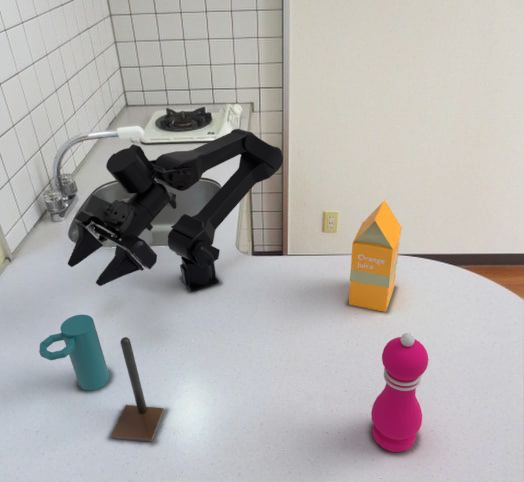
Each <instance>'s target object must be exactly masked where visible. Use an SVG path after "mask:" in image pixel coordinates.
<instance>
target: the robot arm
mask: <svg viewBox="0 0 524 482" xmlns="http://www.w3.org/2000/svg"><path fill="white" fill-rule="evenodd" d="M237 156H240V157H239V162H238V163H239V164H238V167H237V169H236V170H235V171H234V173H233V174H232V175H231V176H230V177H229V178H228V179H227V181H226V182H224V184H223V185H222V186H221V187H220V189H218V191H216V193H215V194H214V195H213V196H212V197H211V199H210V200H209V201H208V202H207V203H206V204H205V205H204V206H203V207H202V209H200V210H199V212H198V213H196V214H195V215H192V216H191V215H189V214H187V213H184V214H182V215H181V216H180V218H179V219H178V220H177V221H176V222H175V223H174V224H172V225H171V226H170V228H171V229H170V231H169V232H168V234H167V246H168V249H169V250H170V251H171V252H173V253H175V255H177V256H180V259H181V264H179V268H180V275H181V280H182V282H183V284H184V285H185V286H186V287H188V289H189V290H190V292H197V291H200V290H202V289H205V288H209V287H213V286H216V285H218V284H219V283H220V280H219V279H218V278H217V276H216V267H215V266H216V265H215V262H216V261H218V260H219V256H220V251H221V250H220V249H219V248H218V247H216V246H213V244H214V242H215V241H214V240H215V234H216V230H217V229H218V228H219V226H220V225H221V224H222V223H223V222H224V221H225V219H227V217H228V216H229V215H230V214H231V213H232V211H233V210H234V209H235V208H236V207H237V206H238V204H240V202H242V200H243V199H244V198H245V197H246V195H247V194H248V193H249V192H250V191H251V190H252V188H253V187H254V186H255V185H256V184H258V183H260V182H263V181H266V180H268V179H270V178H271V177H272V176H274V175H275V174H277V172H278V171H279V170H280V169H281V167H282V166H283V162H284V155H283V152H282V149H281V148H279V147H278V146H275V145H272V144H269V143H268V142H266V141H264V140H262V139H261V138H260V137H258V136H257V135H256V134H254V133H253V132H252V131H248V130H244V129H241V128H235V129H232V130H231V131H230V132H229V133H226V134H224V135H222V136H220V137H218V138H215V139H213V140H211V141H208V142H206V143H204V144H202V145H200V146H198V147H195V148H193V149H189V150H181V151H180V150H176V151H171V152H166V153H162V154H161V155H159V156H157V158H156V159H150V160H149V158H148V157H147V156H146V153H145V151H144V149H143V148H142V147H141V145H137V144H133V143H132V144H131V145H130V146H129V147H127V148H123V149H120V150H119V151H117V152H114V153H112V154H111V156H110V157H109V158H108V160H107V161H106V165H105V167H106V170H107V171H108V173H110V175H111V176H112V177H113V179H114V180H115V181H116V182H117V183H118V184H119V186H120V187H121V189H123V190H124V192H125V193H126V194H130V195H131V196H130V197H128V198H129V199H128V201H127V202H124V201H122V200H123V199H120V200H121V201H120V200H118V199H115V200H114V201H112V202H110V201H108V200H106V199H104V198H101V197H99V196H97V195H95V194H91V195H90V197H89V199H88V201H87V204H86V206H85V207H84V210H81V211H79V212H78V214H77V215H76V216H75V217H74V220H75V221H76V223H75V227H77V231H78V236H77V238H76V243H75V245H74V248H73V249H72V252H71V254H70V256H69V258H68V261H67V265H68V266H69V267H70V268H74V267H75V266H76V265H78V264H80V263H81V262H83V261H84V260H85V259H87V258H88V257H89V256H91V255H92V254H93V253H95V252H96V251H98V250H99V249H100V248H102V247H103V244H102V243H103V242H107V241H110V242H112V243H113V244H114V245H115V252H114V256H113V258H112V259H111V260H110V262H109V263H108V264H107V266H106V267H105V268H104V270H103V271H102V272H101V273H100V274H99V276H98V278H97V279H96V280H95V284H96V285H97V286H99V287H102V286H104V285H106V284H108V283H111V282H113V281H115V280H117V279H119V278H122V277H125V276H127V275H130V274H132V273H135V272H138V271H141V272H142V271H144V270H145V269H147V270H149V271H150V270H151V269H152V268H153V267H154V266H155V264H156V263H157V260H158V254H157V253H156V252H155V251H154V249H152V248H151V245H148V244H147V243H146V242H145V241H144V240H142V239H140V238H139V236H140V234H141V233H142V232H143V231H144V230H145V229H147V230H148V231H150V230H151V231H152V229H153V228H154V226H153V225H152V222H153V221H154V220H155V219H156V217H158V215H159V214H160V213H161V211H163V209H164V208H166V207H168V208H171V209H173V210H176V209H177V194H176V193H173V192H171V191H168V189H167V188H166V186H167V187H169V188H172V189H174V190H177V191H180V192H184V191H187V190H189V189H190V188H192V187H193V186H194V185H196V184H197V183H198V182H200V180H201V178H202V176H203V174H204V173H206V172H207V171H209V170H211V169H213V168H216V167H217V166H219V165H221V164H224V163H225V162H228V161H229V160H232V159H233V158H235V157H237ZM119 239H120V240H121V241H120V240H119ZM123 248H124V249H123Z"/></svg>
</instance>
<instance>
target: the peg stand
mask: <svg viewBox="0 0 524 482" xmlns="http://www.w3.org/2000/svg"><path fill="white" fill-rule="evenodd" d="M120 346H121V347H120V348H121V351H122V354H123V359H124V362H125V366H126V370H127V373H128V378H129V383H130V385H131V389H132V393H133V397H134V401H135V404H136V405H132V404H131V405H130V404H126V405H125V406H124V408H123V410H122V412H121V415H120V417H119V419H118V421H117V423H116V425H115V427H114V430H113V432H112V434H111V437H112V438H113V439H119V440H127V441H128V440H129V441H139V442H149V443H153V442H154V439H155V437H156V434H157V431H158V428H159V426H160V424H161V422H162V418H163V416H164V414H165V408H164V407H153V406H147V404H146V400H145V396H144V391H143V387H142V383H141V378H140V375H139V370H138V367H137V363H136V358H135V353H134V350H133V346H132V341H131V339H130V338H129V337H128V336H124V337H122V338H121V339H120Z"/></svg>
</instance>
